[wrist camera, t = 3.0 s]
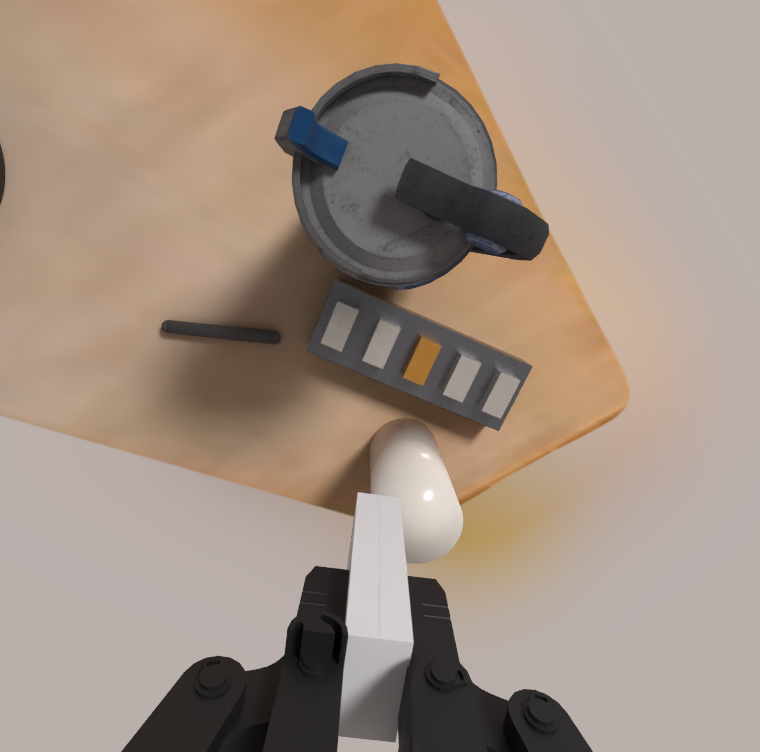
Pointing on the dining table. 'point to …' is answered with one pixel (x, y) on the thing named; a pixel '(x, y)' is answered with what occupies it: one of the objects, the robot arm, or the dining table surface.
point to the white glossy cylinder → (416, 488)
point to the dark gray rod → (220, 332)
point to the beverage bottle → (401, 179)
